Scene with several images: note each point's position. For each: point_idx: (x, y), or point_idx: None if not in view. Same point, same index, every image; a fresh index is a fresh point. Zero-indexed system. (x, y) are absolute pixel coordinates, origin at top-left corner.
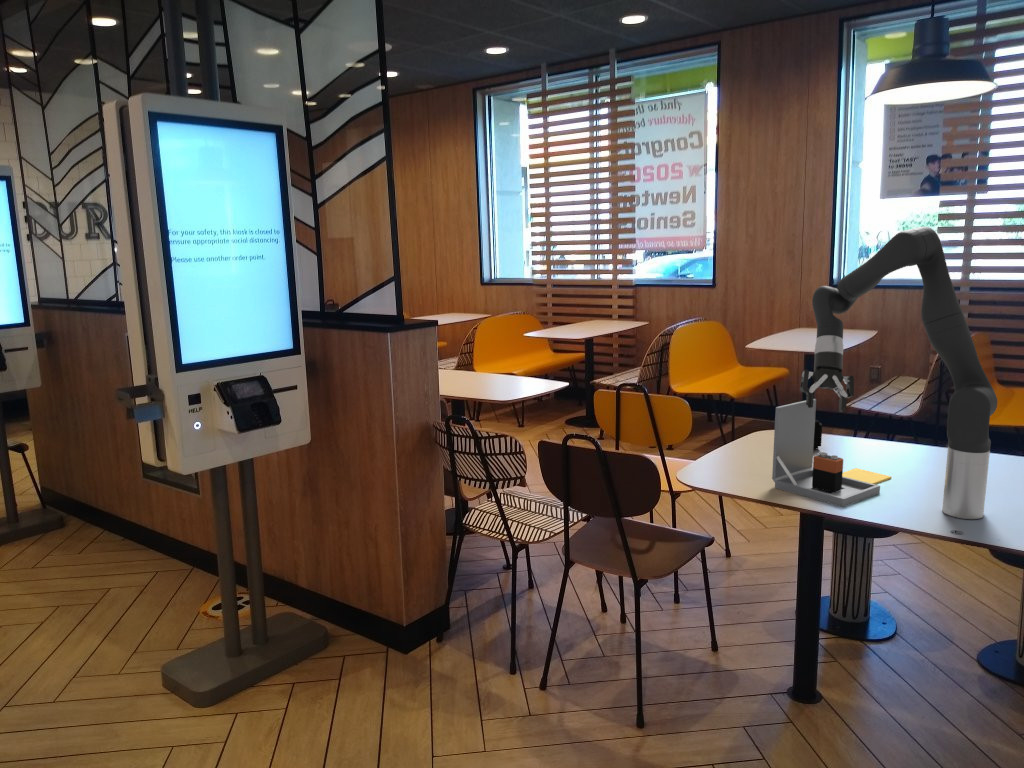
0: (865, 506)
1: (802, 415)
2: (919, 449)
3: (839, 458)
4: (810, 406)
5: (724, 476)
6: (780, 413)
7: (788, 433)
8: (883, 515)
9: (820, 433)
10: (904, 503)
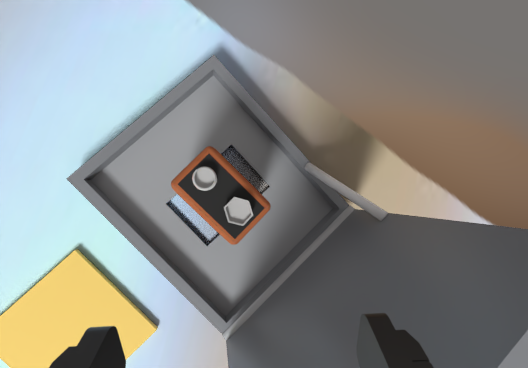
0: (154, 70)
1: None
2: None
3: (185, 180)
4: (378, 315)
5: None
6: None
7: (387, 279)
8: (131, 4)
9: None
10: (36, 96)
